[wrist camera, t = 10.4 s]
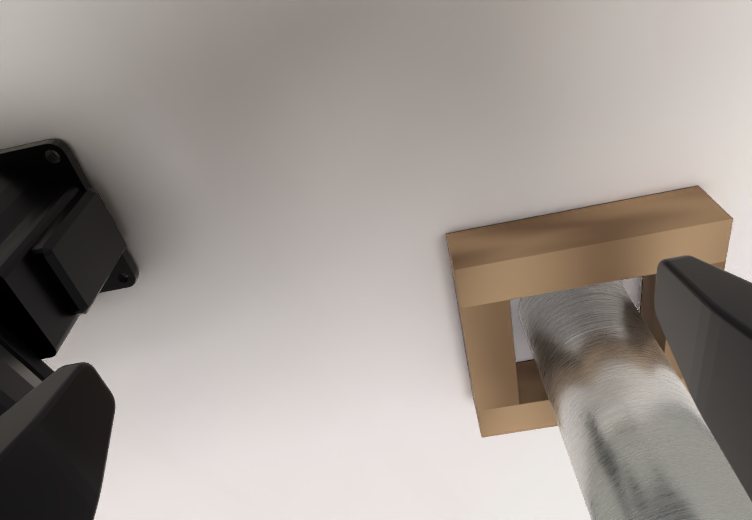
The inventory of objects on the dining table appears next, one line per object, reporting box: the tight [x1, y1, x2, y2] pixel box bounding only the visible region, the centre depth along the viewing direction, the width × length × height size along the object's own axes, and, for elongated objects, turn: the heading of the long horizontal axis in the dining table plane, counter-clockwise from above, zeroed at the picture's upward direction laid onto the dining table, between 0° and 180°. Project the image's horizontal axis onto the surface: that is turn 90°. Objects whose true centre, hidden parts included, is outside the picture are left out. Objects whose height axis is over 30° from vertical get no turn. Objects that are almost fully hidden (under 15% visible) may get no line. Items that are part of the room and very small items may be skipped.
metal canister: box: [519, 280, 752, 520], centre depth 20 cm, size 5×5×13 cm
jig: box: [446, 186, 733, 437], centre depth 25 cm, size 10×10×2 cm
